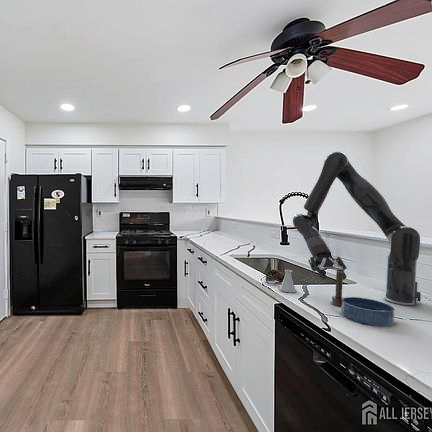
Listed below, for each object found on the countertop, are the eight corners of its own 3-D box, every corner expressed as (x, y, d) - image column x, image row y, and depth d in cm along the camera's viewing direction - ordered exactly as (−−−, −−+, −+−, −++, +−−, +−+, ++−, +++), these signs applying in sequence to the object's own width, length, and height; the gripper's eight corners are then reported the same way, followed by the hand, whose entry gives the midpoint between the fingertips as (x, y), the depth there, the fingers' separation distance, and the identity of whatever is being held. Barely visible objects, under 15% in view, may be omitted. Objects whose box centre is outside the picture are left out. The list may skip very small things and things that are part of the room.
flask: (295, 294, 131) (296, 272, 131) (278, 291, 135) (279, 270, 135) (296, 290, 138) (297, 269, 137) (280, 287, 141) (281, 267, 141)
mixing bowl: (368, 310, 112) (369, 296, 112) (405, 327, 97) (406, 311, 97) (331, 310, 111) (332, 296, 111) (363, 327, 96) (364, 311, 96)
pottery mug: (289, 287, 144) (283, 273, 143) (271, 293, 147) (265, 280, 146) (283, 275, 155) (277, 263, 154) (266, 281, 158) (260, 269, 157)
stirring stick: (339, 302, 120) (340, 270, 120) (347, 306, 116) (348, 273, 115) (329, 302, 120) (330, 270, 119) (337, 306, 116) (338, 273, 115)
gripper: (307, 243, 128) (323, 274, 117) (337, 243, 129) (356, 274, 118) (299, 252, 134) (314, 283, 123) (328, 252, 134) (345, 283, 123)
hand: (334, 278), depth 120 cm, fingers open, 8 cm apart
